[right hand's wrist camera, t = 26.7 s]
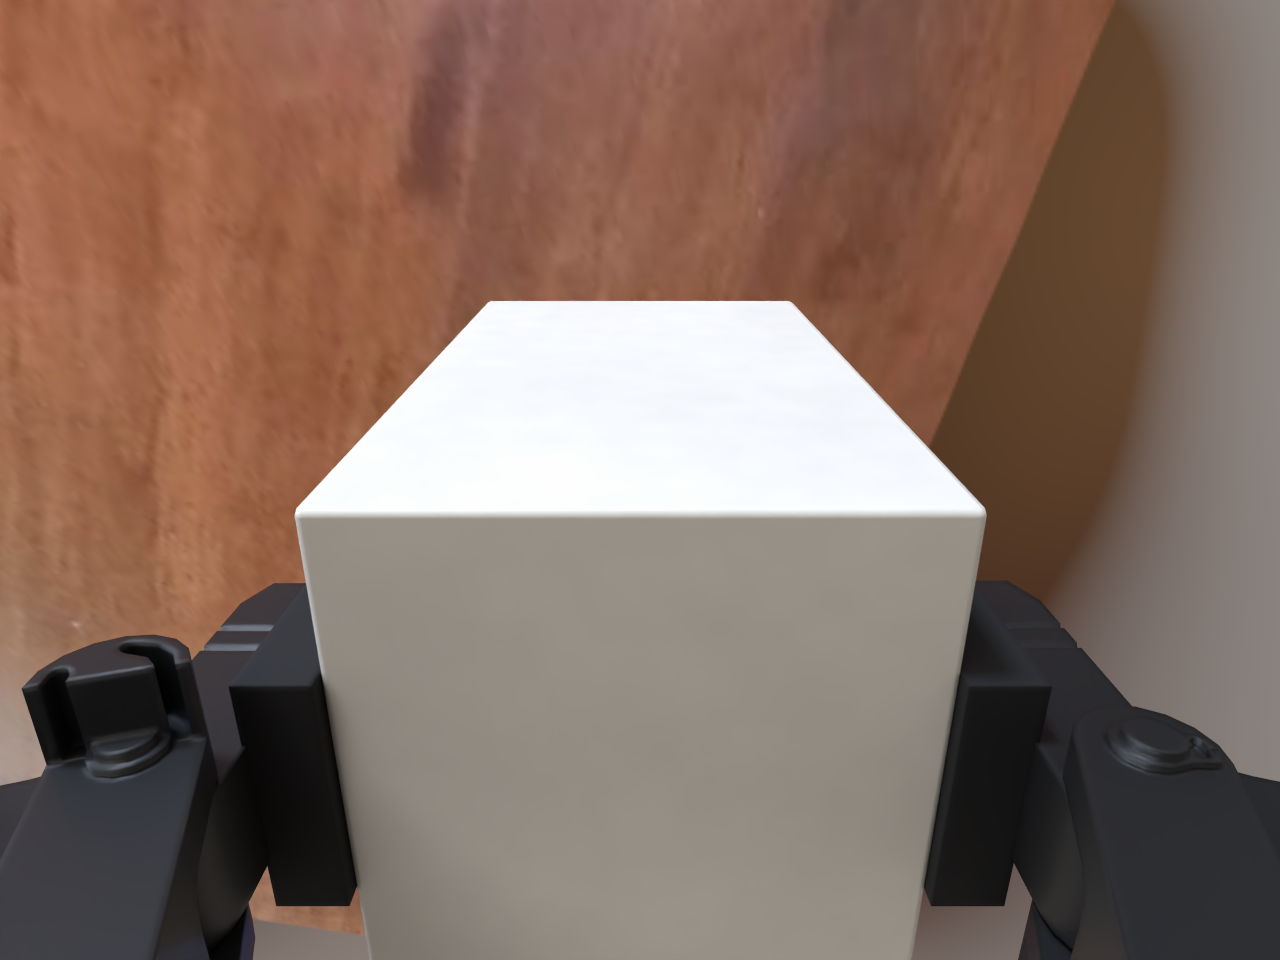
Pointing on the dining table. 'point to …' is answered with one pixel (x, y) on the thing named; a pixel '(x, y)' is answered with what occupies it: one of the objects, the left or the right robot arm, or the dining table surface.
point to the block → (640, 642)
